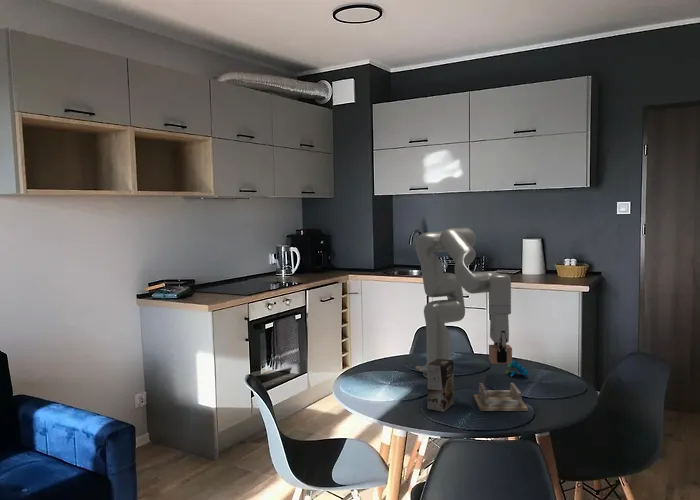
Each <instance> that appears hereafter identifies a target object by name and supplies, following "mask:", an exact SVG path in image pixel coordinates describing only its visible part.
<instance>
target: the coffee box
mask: <svg viewBox="0 0 700 500" xmlns="http://www.w3.org/2000/svg"><path fill="white" fill-rule="evenodd" d="M453 373H454V360H452V359H450V360H447V359H436V360H434V361H432V362H431V363H429V364H428V378H427V409H428V410H432V411H433V410H434V411H438V412H442V413H443V412H446V411H447V410H448V409H449V408H450V407H452V406H453V405H454V377H453ZM451 405H452V406H451Z"/></svg>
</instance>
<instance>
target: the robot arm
mask: <svg viewBox="0 0 700 500" xmlns="http://www.w3.org/2000/svg"><path fill="white" fill-rule="evenodd" d="M476 242H477V236H476V234H475V232H474V231H473V229H471V228H469V227H451V228H447V229H444V230H442V231H426V232H423V233H422V234H420V235H419V236H418V237H417V239H416V242H415V251H416V252H415V253H416V255H417V258H418V260H419V263H420V268H421V269H420V270H421V276H422V282H423V283H422V284H423V290H424V293H425V295H426V296H427V297H429V298H442V297H443V298H444V297H447V299H439V300H433V301H430V302H427V303H426V304H425V306H424V308H423V316H424V322H425V327H426V331H425V332H426V362H425V364H424V365H415V371H416V372H421V373H422V376H423V377H424V378H426V379H428V364H429V363H431V362H432V361H434V360H436V359H447V360H451V349H450V348H451V344H450V343H451V338H450V337H451V335H450V331H449V329H448V328H447V326H446V325H445V324H448V323H453V322H454V323H455V322H460V321H462V320H463V319H464V317H465V315H466V307H465V305H466V304H465V299H464V293H463V292H464V291H465V292H467V293H469V294H473V295H474V294H482V293H483V294H484V293H488V314H490V318H489V319H490V320H489V325H490V326H489V338H490V339H491V341H492V342H493V345H498V351H497V362H498V363H506V362H507V348H506V345H507V344H508V343H509V341H510V329H509V328H510V327H509V326H510V325H509V324H510V323H509V315H511V314H512V278H511V275H509V274H507V273H499V272H496V271H493V270H490V271H476V272H472V271H471V270H470V269H469V268H468V266H470V265H471V264H472V263H473V261H474V260H475V259H476V256H477V254H476V250H475V248H474V246H475V245H476ZM443 252H445V253H446V252H447V253H448V255H449V256H450V257H451V259H452V260H453V261H454V263H455V264H454V273H451V272H450V273H444V272H443V267H442V265H443V264H442V262H441V260H440V259H439V257H438V256H437V255H436V254H435V253H443ZM463 290H464V291H463ZM500 345H501V346H500ZM454 377H455V374H454V372H453V378H454Z"/></svg>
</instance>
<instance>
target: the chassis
mask: <svg viewBox="0 0 700 500" xmlns="http://www.w3.org/2000/svg"><path fill="white" fill-rule="evenodd" d="M509 386H510V387H509V389H510V390H509V389H507V390H505V389H504V390H501V389H499V390H494V389H493V390H490V389H489V390H487V388H486V387H485V385H484V382H479V383H478V391H479V392H478V394H473V399H474V401H475V404H476V406H477V407H478V409H479V412H481V411H528V412H529V409H528V406H527V405H526V404H525V402H524V401H523V398H522V392H521V390H520V389H519V388H518V387H517V386H516V384H515V383H514V382H510V383H509Z"/></svg>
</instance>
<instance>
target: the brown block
mask: <svg viewBox="0 0 700 500" xmlns="http://www.w3.org/2000/svg"><path fill="white" fill-rule="evenodd" d="M500 346H501V345H500ZM506 348H507V362H506V363H498V362H497V351H498V345H494V344H488V362H490V364H491V365H494V364H499V365H500V364H507V365H508V364H511V363H512V361H513V348H512V346H511V345H510V344H506Z"/></svg>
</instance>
